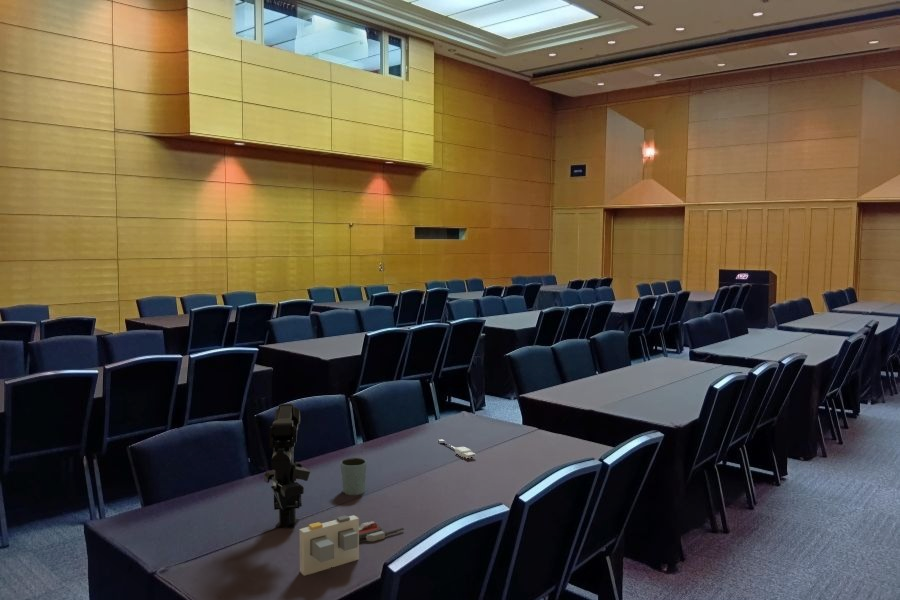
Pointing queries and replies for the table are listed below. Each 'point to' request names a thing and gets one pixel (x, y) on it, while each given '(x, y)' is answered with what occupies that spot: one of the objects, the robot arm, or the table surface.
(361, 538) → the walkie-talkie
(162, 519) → the table surface
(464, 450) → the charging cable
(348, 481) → the grey green cup
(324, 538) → the grey rectangular block
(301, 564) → the console
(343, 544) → the button dark
